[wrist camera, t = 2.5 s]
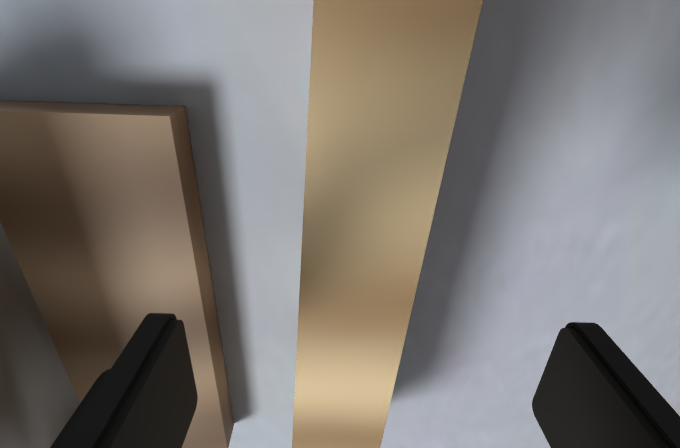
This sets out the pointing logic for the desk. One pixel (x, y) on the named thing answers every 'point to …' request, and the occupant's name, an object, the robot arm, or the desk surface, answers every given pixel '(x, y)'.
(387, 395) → the oak batten
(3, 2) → the desk surface
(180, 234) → the stand
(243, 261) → the desk surface
